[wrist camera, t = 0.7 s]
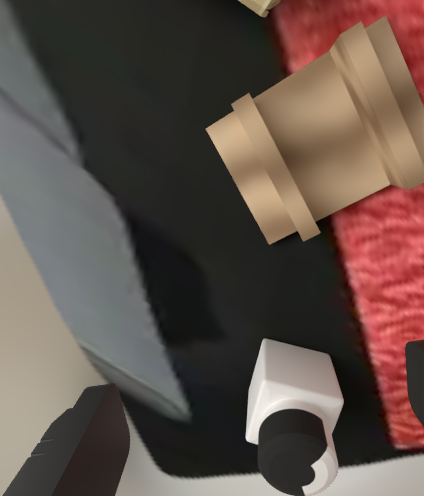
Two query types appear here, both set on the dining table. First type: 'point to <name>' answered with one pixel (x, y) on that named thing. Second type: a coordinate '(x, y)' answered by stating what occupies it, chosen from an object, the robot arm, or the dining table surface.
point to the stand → (326, 134)
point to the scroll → (260, 5)
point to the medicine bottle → (294, 417)
